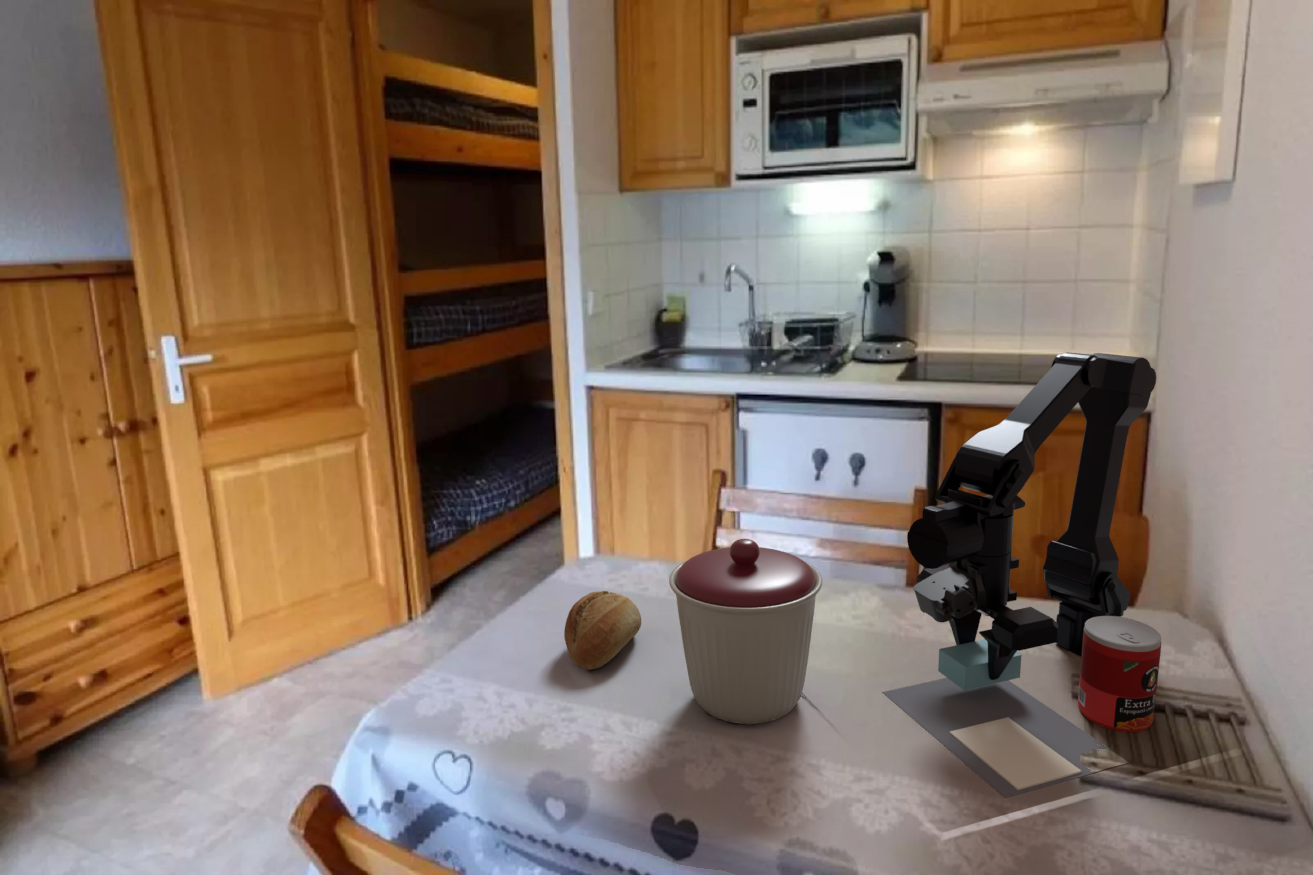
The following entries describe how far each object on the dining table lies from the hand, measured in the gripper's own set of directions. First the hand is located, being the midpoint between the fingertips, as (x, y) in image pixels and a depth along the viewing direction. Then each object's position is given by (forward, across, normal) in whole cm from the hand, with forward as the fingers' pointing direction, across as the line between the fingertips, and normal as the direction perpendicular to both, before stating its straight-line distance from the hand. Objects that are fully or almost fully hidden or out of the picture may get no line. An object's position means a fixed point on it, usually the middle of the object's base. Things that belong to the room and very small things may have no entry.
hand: (979, 668), depth 106 cm
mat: (+3, +7, -3) cm, 8 cm away
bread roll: (+4, -29, -40) cm, 49 cm away
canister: (+4, -9, -27) cm, 29 cm away
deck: (+1, 0, 0) cm, 1 cm away
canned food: (+4, +10, +11) cm, 15 cm away
